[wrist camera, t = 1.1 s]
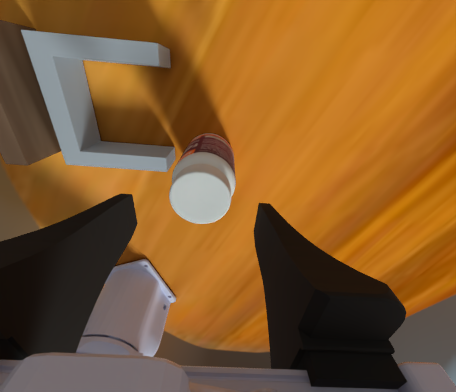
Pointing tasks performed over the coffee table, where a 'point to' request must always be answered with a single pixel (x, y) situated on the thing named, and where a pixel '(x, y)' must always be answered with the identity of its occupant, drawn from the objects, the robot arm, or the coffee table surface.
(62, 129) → the cradle
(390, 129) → the coffee table surface
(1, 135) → the wall
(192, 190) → the pill bottle
